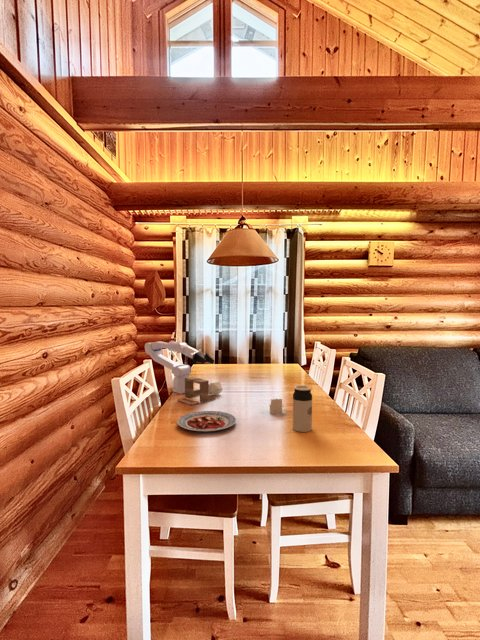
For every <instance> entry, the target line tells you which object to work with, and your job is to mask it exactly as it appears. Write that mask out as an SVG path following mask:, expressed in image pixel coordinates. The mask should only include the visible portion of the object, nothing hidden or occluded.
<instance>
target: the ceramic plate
mask: <svg viewBox="0 0 480 640" xmlns="http://www.w3.org/2000/svg"><path fill="white" fill-rule="evenodd" d="M236 422H237V418H236V416H234V415H233V414H231V413H228V412H224V411H217V410H202V411H201V410H200V411H194V412H190V413H186V414H184V415H181V416H180V417H179V418H178V419H177V424H178V426H179V427H181V428H182V429H185V430H189V431H195V432H215V431H220V430H225V429H228V428H230V427H232V426H233V425H235V424H236Z"/></svg>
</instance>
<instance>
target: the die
mask: <svg viewBox="0 0 480 640" xmlns="http://www.w3.org/2000/svg"><path fill="white" fill-rule="evenodd" d="M222 391H223V387H222V385H221V382H220V381H216V380H211V381H210V382H209V394H215V397H218V396H219V395H220V393H221V392H222Z"/></svg>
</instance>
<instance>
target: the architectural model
mask: <svg viewBox="0 0 480 640" xmlns="http://www.w3.org/2000/svg"><path fill="white" fill-rule="evenodd" d="M283 408H285V405H284V404H283V398H277V397H276V398H273V399H270V404H269V414H273V415H274V414H275V415H276V414H282V413H283Z"/></svg>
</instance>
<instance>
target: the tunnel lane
mask: <svg viewBox="0 0 480 640" xmlns="http://www.w3.org/2000/svg"><path fill="white" fill-rule="evenodd" d="M209 383H210V382H209V380H207V379H204V378H198V377H195V376H188V377H186V378H185V393H184V397H186V398H191V397H197V396H199V404H203V403H207V402H210V401H214V400H216V396H215V394H209ZM194 384H199V389H194V388H195V387H194V386H195V385H194Z"/></svg>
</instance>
